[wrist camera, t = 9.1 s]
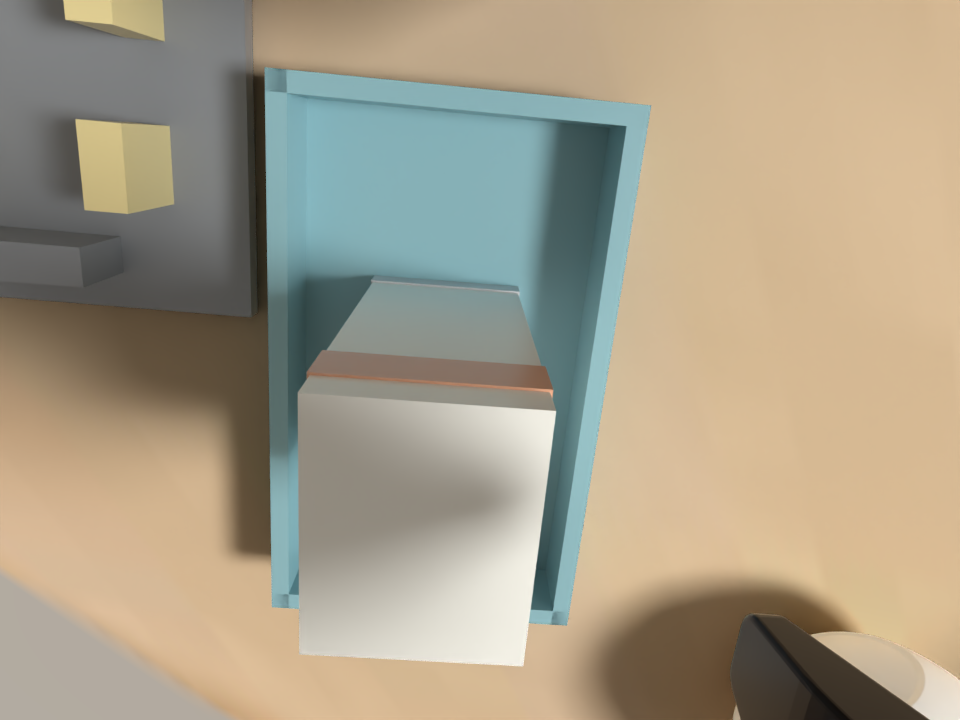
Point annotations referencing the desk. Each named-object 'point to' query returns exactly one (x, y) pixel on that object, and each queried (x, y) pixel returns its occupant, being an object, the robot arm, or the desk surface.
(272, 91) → the tray
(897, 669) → the white round lump
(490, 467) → the block
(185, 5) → the fuse block
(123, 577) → the desk surface
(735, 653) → the robot arm
